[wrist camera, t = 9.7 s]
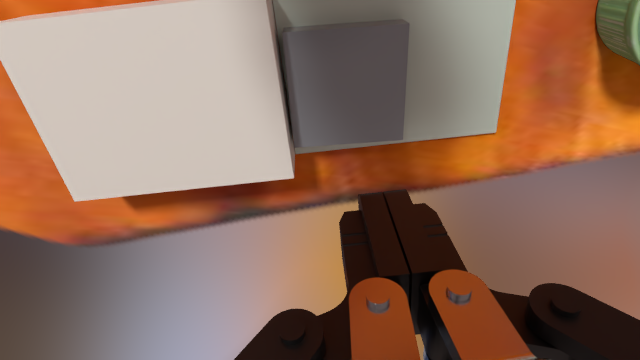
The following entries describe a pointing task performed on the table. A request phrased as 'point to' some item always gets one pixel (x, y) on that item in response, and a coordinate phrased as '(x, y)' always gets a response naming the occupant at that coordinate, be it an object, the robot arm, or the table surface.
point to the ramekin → (620, 27)
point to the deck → (155, 94)
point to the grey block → (347, 81)
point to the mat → (428, 59)
